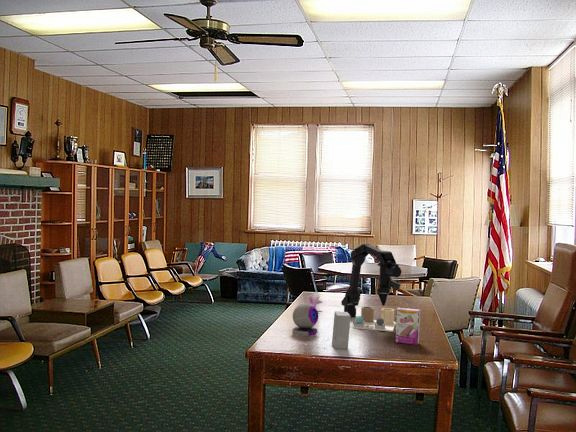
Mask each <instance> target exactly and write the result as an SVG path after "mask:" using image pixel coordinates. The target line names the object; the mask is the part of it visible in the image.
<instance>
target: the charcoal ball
mask: <svg viewBox="0 0 576 432" xmlns="http://www.w3.org/2000/svg"><path fill="white" fill-rule="evenodd" d="M376 320H377V321H376V322H377V324H378V325H383V324H384V320H383V319H382V318H381V317H378V318H377V319H376Z"/></svg>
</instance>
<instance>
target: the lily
mask: <svg viewBox="0 0 576 432" xmlns="http://www.w3.org/2000/svg"><path fill="white" fill-rule="evenodd" d="M319 298H320V296H317V297H313V296H312V295H310V294H309V295H308V296H307V301H304V302H303V303H308V304H311V305H313V306H314V307H315V308H316V309H317V305H320V304H323V301H322V300H319Z"/></svg>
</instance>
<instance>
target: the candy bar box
mask: <svg viewBox="0 0 576 432" xmlns="http://www.w3.org/2000/svg"><path fill="white" fill-rule="evenodd" d="M395 322H396V325H395V327H394V329H395V331H394V343H396V344H397V343H398V344H406V345H414V346H417V345H419V342H420V325H421V324H420V323H421V309H415V308H408V307H407V308H406V307H397V308H396V309H395Z"/></svg>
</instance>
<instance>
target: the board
mask: <svg viewBox="0 0 576 432" xmlns="http://www.w3.org/2000/svg"><path fill="white" fill-rule="evenodd" d="M360 308H361V309H360V310H361V313H360V316H361V317H362V318H363V322H362V323H361V324H358V323H357V322H356V319H354V320H353V326H352V329H360V330H361V329H362V330H369V331H370V330H371V331H380V332H381V331H382V332H384V331H385V332H394V329H395V325H396V321H395V309H394V308H392V307H391V308H387V307H383V308H381V309H380V310H381V311H380V312H381V313H380V314H381V316H380V318H382V319H383V320H384V324H383V325H378V324H377V322H376V321H377V319H375V307H372V306H362V307H360Z"/></svg>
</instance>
